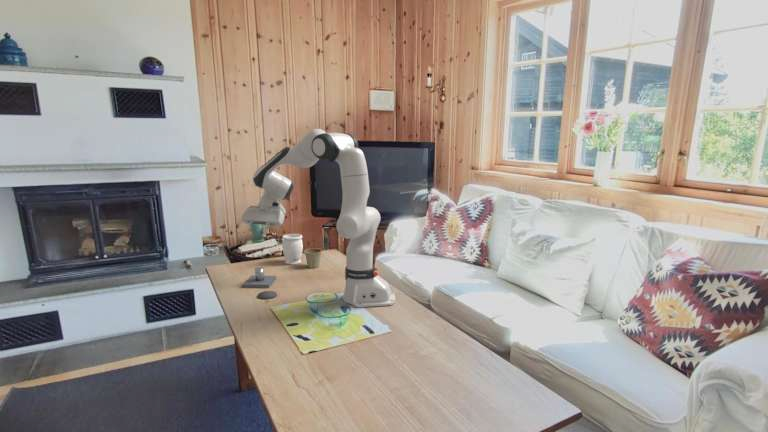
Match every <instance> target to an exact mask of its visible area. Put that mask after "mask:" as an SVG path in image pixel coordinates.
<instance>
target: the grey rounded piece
mask: <svg viewBox="0 0 768 432" xmlns="http://www.w3.org/2000/svg"><path fill="white" fill-rule="evenodd" d="M254 275H255V281H264V276H265V269H264V267H261V266H260V267H256V268H254Z"/></svg>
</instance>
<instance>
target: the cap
mask: <svg viewBox="0 0 768 432" xmlns="http://www.w3.org/2000/svg"><path fill="white" fill-rule="evenodd" d="M251 227H252V232H251V239H250V240H251V243H255V244H259V243H263V242H265V237H264V233H262V232H261V230H262V228H264V225H263V223H253V224H251Z"/></svg>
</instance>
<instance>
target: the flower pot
mask: <svg viewBox="0 0 768 432" xmlns="http://www.w3.org/2000/svg"><path fill="white" fill-rule="evenodd" d="M322 251H323V249H321V248H317V247H316V248H315V247H314V248H313V247H312V248H307V249H305V250H303V253H304V255H305V260H306V266H307V268H308V269H313V268H315V269H317V268H319V267H320V263H321V255H322Z"/></svg>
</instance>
